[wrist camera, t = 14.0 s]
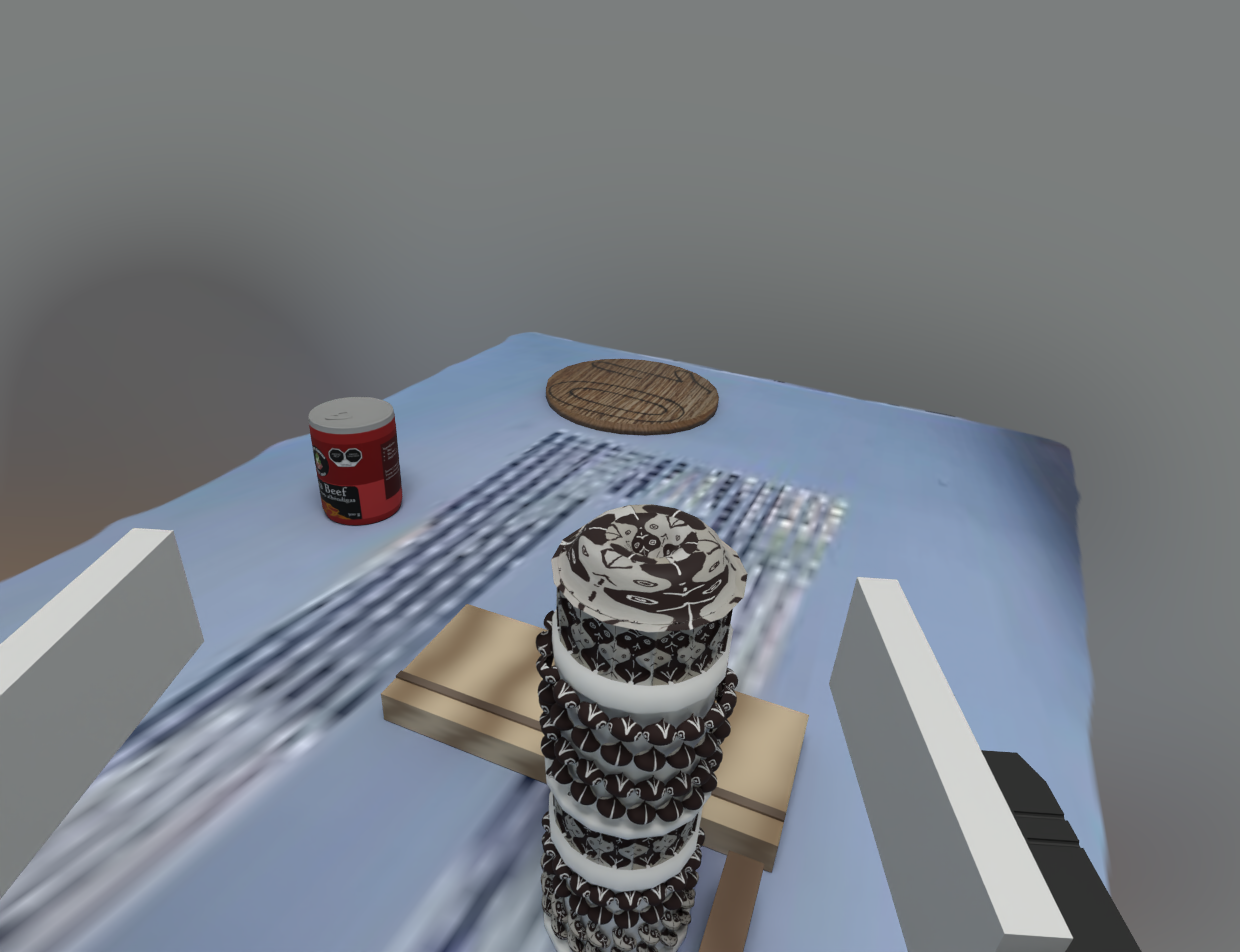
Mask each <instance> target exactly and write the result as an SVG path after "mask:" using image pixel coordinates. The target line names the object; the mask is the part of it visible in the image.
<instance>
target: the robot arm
mask: <svg viewBox="0 0 1240 952" xmlns="http://www.w3.org/2000/svg"><path fill="white" fill-rule="evenodd" d="M203 642H204V639H203V635H202V631H201V628H200V624H199V621H198V617H197V614H196V610H195V606H194V603H193V599H192V596H191V592H190V589H189V585H188V581H187V578H186V574H185V571H184V567H183V564H182V560H181V556H180V553H179V549H178V546H177V542H176V539H175V535H174V531H170V530H156V529H141V528H133V529H132V530H131V531H130V532H128V533H127V534H126V535H125V536H124V537H123V538H122V539H120V540H119V541H118V542H117V543H116V544H115V545H114V546H112V547H111V548H110V549H109V550H108V551H107V552H106V553H104V554H103V555H102V556H101V557H100V558H99V559H98V560H96V561H95V562H94V563H93V564H92V565H91V566H90V567H88V568H87V569H86V570H85V571H84V572H83V573H82V574H80V575H79V576H78V577H77V578H76V579H75V580H74V581H72V582H71V583H70V584H69V585H68V586H67V587H66V588H64V589H63V590H62V591H61V592H60V593H59V594H58V595H56V596H55V597H54V598H53V599H52V600H51V601H49V602H48V603H47V604H46V605H45V606H44V607H43V608H41V609H40V610H39V611H38V612H37V613H36V614H35V615H33V616H32V617H31V618H30V619H29V620H28V621H27V622H25V623H24V624H23V625H22V626H21V627H20V628H19V629H17V630H16V631H15V632H14V633H13V634H12V635H11V636H9V637H8V638H7V639H6V640H5V641H4V642H3V643H1V644H0V899H1V898H2V897H3V895H4V894H5V893H6V891H7V890H8V889H9V888H10V886H11V885H12V884H13V883H14V881H15V880H16V879H17V878H18V876H19V875H20V874H21V872H22V871H23V870H24V869H25V867H26V866H27V865H28V864H29V862H30V861H31V860H32V859H33V857H34V856H35V855H36V853H37V852H38V851H39V850H40V848H41V847H42V846H43V845H44V843H45V842H46V841H47V840H48V838H49V837H50V836H51V834H52V833H53V832H54V831H55V829H56V828H57V827H58V826H59V824H60V823H61V822H62V821H63V819H64V818H65V817H66V815H67V814H68V813H69V812H70V810H71V809H72V808H73V807H74V805H75V804H76V803H77V802H78V800H79V799H80V798H81V796H82V795H83V794H84V793H85V791H86V790H87V789H88V788H89V786H90V785H91V784H92V783H93V781H94V780H95V779H96V777H97V776H98V775H99V774H100V772H101V771H102V770H103V769H104V767H105V766H106V765H107V764H108V762H109V761H110V760H111V758H112V757H113V756H114V755H115V753H116V752H117V751H118V750H119V748H120V747H121V746H122V745H123V743H124V742H125V741H126V739H127V738H128V737H129V736H130V734H131V733H132V732H133V731H134V729H135V728H136V727H137V726H138V724H139V723H140V722H141V720H142V719H143V718H144V717H145V715H146V714H147V713H148V712H149V710H150V709H151V708H152V707H153V705H154V704H155V703H156V701H157V700H158V699H159V698H160V696H161V695H162V694H163V693H164V691H165V690H166V689H167V688H168V686H169V685H170V684H171V682H172V681H173V680H174V679H175V677H176V676H177V675H178V674H179V672H180V671H181V670H182V669H183V667H184V666H185V665H186V663H187V662H188V661H189V660H190V658H191V657H192V656H193V655H194V653H195V652H196V651H197V650H198V648H199V647H200V646H201V644H202V643H203ZM829 685H830V689H831V692H832V695H833V699H834V702H835V705H836V709H837V712H838V716H839V719H840V722H841V726H842V729H843V733H844V736H845V739H846V743H847V746H848V750H849V753H850V756H851V760H852V763H853V766H854V770H855V773H856V777H857V780H858V783H859V787H860V790H861V794H862V797H863V800H864V804H865V807H866V811H867V814H868V817H869V821H870V824H871V828H872V831H873V834H874V838H875V841H876V844H877V848H878V851H879V855H880V858H881V861H882V865H883V868H884V872H885V875H886V878H887V882H888V885H889V889H890V892H891V895H892V899H893V902H894V905H895V909H896V912H897V916H898V919H899V922H900V926H901V929H902V933H903V936H904V939H905V943H906V946H907V950H908V952H1141V950H1140V949H1139V947H1138V945H1137V943H1136V942H1135V940H1134V938H1133V936H1132V934H1131V933H1130V931H1129V929H1128V927H1127V925H1126V924H1125V922H1124V920H1123V918H1122V916H1121V915H1120V913H1119V911H1118V909H1117V907H1116V906H1115V904H1114V902H1113V900H1112V899H1111V897H1110V895H1109V893H1108V891H1107V890H1106V888H1105V886H1104V884H1103V883H1102V881H1101V879H1100V877H1099V875H1098V874H1097V872H1096V870H1095V868H1094V867H1093V865H1092V863H1091V861H1090V859H1089V858H1088V856H1087V854H1086V852H1085V850H1084V849H1083V848H1080V846H1079V840H1078V838H1077V836H1076V834H1075V833H1074V831H1073V829H1072V827H1071V826H1070V824H1069V822H1068V821H1065V819H1064V813H1063V811H1062V810H1061V808H1060V806H1059V804H1058V802H1057V801H1056V799H1055V797H1054V795H1053V793H1052V792H1051V790H1050V788H1049V786H1048V785H1047V783H1046V781H1045V780H1044V779H1043V778H1042V777H1041V776H1040V775H1039V774H1038V773H1037V772H1036V771H1035V770H1034V769H1033V768H1032V767H1031V766H1030V765H1029V764H1028V763H1027V762H1026V761H1025V760H1024V759H1023V758H1022V757H1021V756H1020V755H1019V754H1018V753H1012V752H997V751H983V750H981V749H980V747H979V745H978V743H977V741H976V739H975V737H974V735H973V733H972V731H971V729H970V727H969V725H968V723H967V721H966V719H965V717H964V715H963V713H962V711H961V709H960V707H959V705H958V703H957V701H956V699H955V697H954V695H953V692H952V690H951V688H950V686H949V684H948V682H947V680H946V678H945V676H944V674H943V672H942V670H941V668H940V666H939V664H938V662H937V660H936V658H935V656H934V654H933V652H932V650H931V648H930V646H929V644H928V642H927V640H926V638H925V635H924V633H923V631H922V629H921V627H920V625H919V623H918V621H917V619H916V617H915V615H914V613H913V611H912V609H911V607H910V605H909V603H908V601H907V599H906V597H905V595H904V593H903V591H902V589H901V587H900V585H899V583H898V580H892V579H877V578H862V577H857V580H856V583H855V587H854V591H853V595H852V599H851V602H850V606H849V610H848V614H847V618H846V622H845V625H844V629H843V633H842V637H841V641H840V644H839V648H838V652H837V656H836V660H835V663H834V667H833V671H832V675H831V679H830V683H829Z"/></svg>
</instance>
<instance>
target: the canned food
mask: <svg viewBox="0 0 1240 952" xmlns="http://www.w3.org/2000/svg"><path fill="white" fill-rule="evenodd" d="M309 427H310V435H311V441H312V447H313V453H314V459H315V465H316V471H317V477H318V483H319V489H320V495H321V501H322V507H323V509H324V511H325V513H326V514H327V516H328V517H329V518H330V519H331V520H333V521H335V522H337V523H341V524H346V525H366V524H372V523H375V522H379V521H382V520H384V519H386V518H388V517H390V516H392V515H393V514H394V513H396V511H397V510H398V509H399V507H400V505H401V501H402V487H401V476H400V465H399V454H398V444H397V433H396V423H395V414H394V411H393V407H392V406H391V405H390V404H389V403H388V402H386V401H383V400H380V399H375V398H368V397H350V398H341V399H336V400H332V401H329V402H326V403H323V404H321V405H318V406H316V407H315V408H313V409H312V410H311V411H310V413H309Z"/></svg>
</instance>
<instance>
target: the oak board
mask: <svg viewBox="0 0 1240 952" xmlns="http://www.w3.org/2000/svg"><path fill="white" fill-rule="evenodd" d="M542 631H544V632H545V631H548V630H546V629H542V628H539V627H536V626H533V625H530V624H527V623H524V622H521V621H518V620H515V619H512V618H509V617H506V616H502V615H499V614H496V613H493V612H490V611H487V610H484V609H481V608H478V607H475V606H472V605H469V604H467V605H466V606H465V607H464V608H463V609H462V610H461V611H460V612H459V613H458V614H457V615H456V616H455V617H454V618H453V619H452V620H451V621H450V622H449V623H448V624H447V625H446V626H445V628H444V629H443V630H442V631H441V632H440V633H439V634H438V635H437V636H436V637H435V638H434V639H433V640H432V641H431V642H430V643H429V644H428V645H427V646H426V647H425V648H424V649H423V650H422V652H421V653H420V654H419V655H418V656H417V657H416V658H415V659H414V660H413V661H412V662H411V663H410V664H409V665H408V666H407V667H406V668H405V669H404V670H403V671H400V672H399V673H398V674H397V675H396V679H395V680H394V681H393V682H392V683H391V684H390V685H389V686H388V687H387V688H386V689H385V690H384V691H383V692H382V693H381V698H382V705H383V713H384V719H385V720H387V721H390V722H392V723H395V724H397V725H400V726H402V727H405V728H407V729H410V730H412V731H415V732H417V733H420V734H422V735H425V736H427V737H430V738H433V739H435V740H438V741H440V742H443V743H445V744H448V745H450V746H453V747H455V748H458V749H460V750H463V751H465V752H468V753H470V754H473V755H475V756H478V757H480V758H483V759H486V760H488V761H491V762H493V763H496V764H498V765H501V766H503V767H506V768H508V769H511V770H513V771H516V772H518V773H521V774H523V775H526V776H528V777H531V778H534V779H536V780H539V781H541V782H544V783H546V784H547V782H546V769H545V756H544V755H543V754H542V752H541V741H542V738H543V737H544V734H543V733H542V731H541V725H540V723H539V719H540V716H541V714H542V713H543V712H544V711H543V710H542V709H541V707H540V704H539V697H538V686H539V684H540V682H541V681H542V680H543V678H542V677H541V676H540V675H539V673H538V671H537V668H536V662H537V660H538V658H539V657H540V656H541V654H540V653H539V652H538V650H537V648H536V643H535V642H536V637H537V635H538V634H539V633H541V632H542ZM553 665H555V663H554V659H553V663H552V666H553ZM735 693H736V696H737V702H736V706H735V707H734V709H733V713H732V715H731V716H730V717H729V718H727V720H728V721H729V723H730V726H731V732H730V735H729V736H728V737H726V738H725V739H724V741H723V743H722V744H721V745H719V746H720V747H721V749H722V752H723V759H722V762H721V763H720V766H719V768H718V769H717V770H716V771H715V772H714V774H715V775H716V778H717V787H716V788H715V790H713V791H711V796H710V797H709V799H708V800H707V801H706V803H705V804H704V805H703V809H702V815H701V821H700V828H702V829H703V831H704V832H705V841H704V843H703V846H705V847H708V848H710V849H713V850H715V851H718V852H720V853H723V854H725V855H728V852H729V850H730V851H733V852H735V853H738V854H740V855H743V856H746V857H748V858H751V859H753V860H756V861H758V862H761V863H763V864H764V868H763V870H766V871H768V872H771V873H772V869H773V865H774V861H775V857H776V853H777V849H778V845H779V841H780V836H781V832H782V828H783V824H784V820H785V815H786V811H787V807H788V802H789V798H790V794H791V790H792V785H793V781H794V777H795V772H796V768H797V764H798V760H799V755H800V751H801V747H802V743H803V738H804V734H805V730H806V725H807V721H808V717H809V715H807V714H804V713H801V712H798V711H795V710H792V709H789V708H786V707H783V706H780V705H776V704H773V703H770V702H767V701H764V700H761V699H758V698H755V697H752V696H749V695H746V694H743V693H740V692H736V691H735ZM715 703H717V701H715Z"/></svg>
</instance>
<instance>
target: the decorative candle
mask: <svg viewBox="0 0 1240 952" xmlns="http://www.w3.org/2000/svg"><path fill="white" fill-rule="evenodd" d="M551 561H552V570H553V578H554V584H555V585H556V586H557V609H556V610H555V612H553V611H550V612H549V613H548V614H547V615H546V617H545V619H544V621H543V622H544V626H545V628H546V629H547V630H548V631H545V632H544V631H542V632H541V633H539V634H538V635H537V637H536V642H535V643H536V648H537V650H538V652H539V653H540V654H541V656H540V657H539V658H538V660H537V662H536V668H537V671H538V673H539V675H540V676H541V677H542V678H543V680H542V681H541V682H540V684H539V686H538V697H539V704H540V707H541V709H542V710H543V711H544V712H543V713H542V714H541V716H540V719H539V723H540V725H541V731H542V733H543V734H544V737H543V738H542V741H541V752H542V754H543V755H544V756H545V769H546V782H547V785H548V786H549V788H550V790H551V792H550V794H549V811H548V812H546V813H545V815H544V816H543V818H542V825H543V827H544V829H545V830H546V832H545V834H544V835H543V837H542V844H543V849H544V853H543V855H542V858H541V867H542V870H543V873H542V876H541V884H542V891H543V897H542V908H543V911H544V926H545V928H546V930H547V932H548V934H549V936H550V938H551V940H552V942H553V944H554V946H555V948H556V950H557V952H676V951H677V950H678V948H679V947H680V945H681V944H682V942H683V941H684V939H685V938H686V933H687V926H688V924H689V923H690V922H691V916H690V908H691V907H693V906H694V898H695V891H694V889H693V887H695V885H696V884H697V881H698V878H699V875H698V873H697V872H696V871H695V870H696V869H698V868H699V866H700V864H701V857H702V853H701V850H700V849H699V848H700V847H701V846H702V845H703V843H704V841H705V832H704V831H703V829H702V828H700V821H701V815H702V809H703V805H704V804H705V803H706V801H707V800H708V799H709V797H710V796H711V791H713V790H715V788H716V787H717V778H716V775H715V774H714V772H715V771H716V770H717V769H718V768H719V766H720V763H721V762H722V759H723V752H722V749H721V747H720V746H719V745H721V744H722V743H723V741H724V739H725V738H726V737H728V736H729V735H730V732H731V726H730V723H729V721H728V720H727V718H729V717H730V716H731V715H732V713H733V709H734V707H735V706H736V702H737V696H736V693H735V691H734V690H733V689H735V688H736V686H737V684H738V679H737V676H736V674H735V673H734V672H733V671H732V670H731V669H729V668H727V665H728V657H729V651H730V645H731V639H732V633H733V629H732V626H731V624H730V622H731V616H732V610H733V608H734V607H735V606H736V604H737V603H738V602H739V601H740V600H741V599H742V598H743V597H744V592H745V586H746V579H747V573H746V571H745V569H744V567H743V565H742V563H741V561H740V559H739V557H738V555H737V553H736V552H735V551H734V550H733V549H732V548H731V547H729V546H728V545H727V544H726V543H724V542H723V541H722V540H721V539H719V537H718V535H717V534H716V533H715V531H714V530H712V529H711V528H710V527H709V526H707V525H706V524H705V523H704V522H702V521H701V520H700V519H699V518H697V517H695V516H692V515H690V514H688V513H685V512H683V511H680V510H678V509H675V508H670V507H664V506H658V505H652V504H651V505H628V506H624V507H620V508H616V509H613V510H609V511H606V512H604V513H603V514H601V515H599V516H598V517H596V518H595V519H593V520H592V521H590V522H589V523H588V524H586V525H584V526H583V527H581V528H580V529H578V530H577V531H575V532H574V533H572V534H571V535H569V536H568V537H566V538H564V539H563V540H562V542H561V544H560V545H559V547H558V549H557V551H556V552H555V554H554V556H553V558H552V559H551ZM553 659H554V663H555V665H553V666H552V663H553ZM715 701H717V703H715Z"/></svg>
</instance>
